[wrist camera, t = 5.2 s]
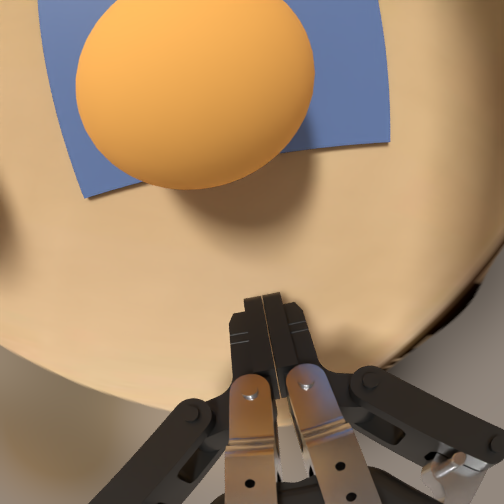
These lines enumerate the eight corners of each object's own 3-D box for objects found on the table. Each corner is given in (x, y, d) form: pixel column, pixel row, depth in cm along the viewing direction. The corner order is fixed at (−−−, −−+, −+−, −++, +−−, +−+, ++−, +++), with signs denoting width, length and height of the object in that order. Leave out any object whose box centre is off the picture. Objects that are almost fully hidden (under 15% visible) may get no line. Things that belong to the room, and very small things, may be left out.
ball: (-7, 158, 3) (151, 247, 8) (381, 5, 2) (342, 189, 8) (59, 7, 4) (138, 111, 10) (257, -70, 4) (280, 62, 9)
